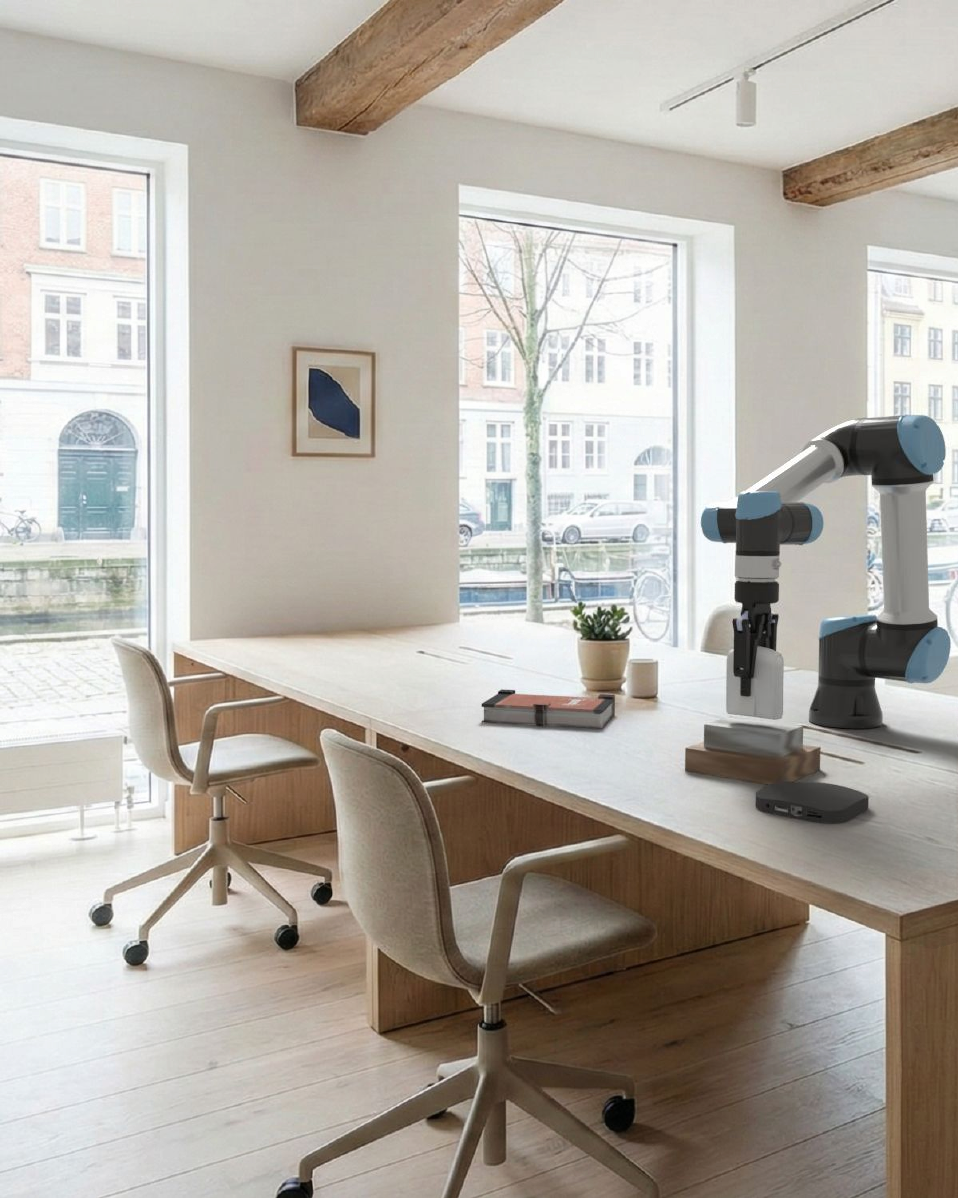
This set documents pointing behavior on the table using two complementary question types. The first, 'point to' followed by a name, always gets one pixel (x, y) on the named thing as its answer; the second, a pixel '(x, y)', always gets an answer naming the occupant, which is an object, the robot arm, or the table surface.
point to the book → (549, 710)
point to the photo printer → (759, 684)
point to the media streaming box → (812, 801)
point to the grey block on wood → (753, 751)
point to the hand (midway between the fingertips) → (753, 712)
